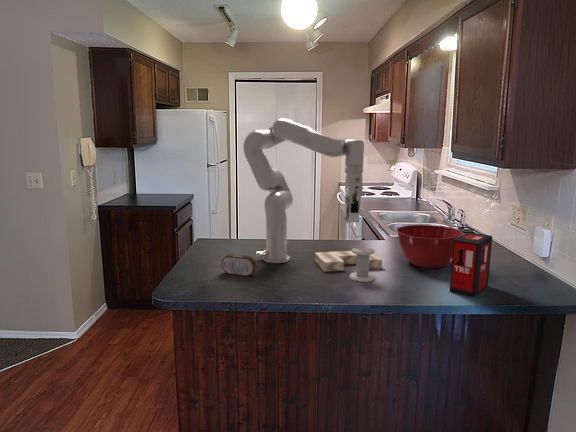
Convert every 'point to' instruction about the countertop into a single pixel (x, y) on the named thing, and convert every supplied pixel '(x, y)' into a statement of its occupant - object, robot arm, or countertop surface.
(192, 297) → the countertop surface
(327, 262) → the notched board
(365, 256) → the doorknob
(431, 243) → the mixing bowl
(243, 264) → the tin
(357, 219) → the syrup box
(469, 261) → the cleaning product box
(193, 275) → the countertop surface
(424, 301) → the countertop surface
